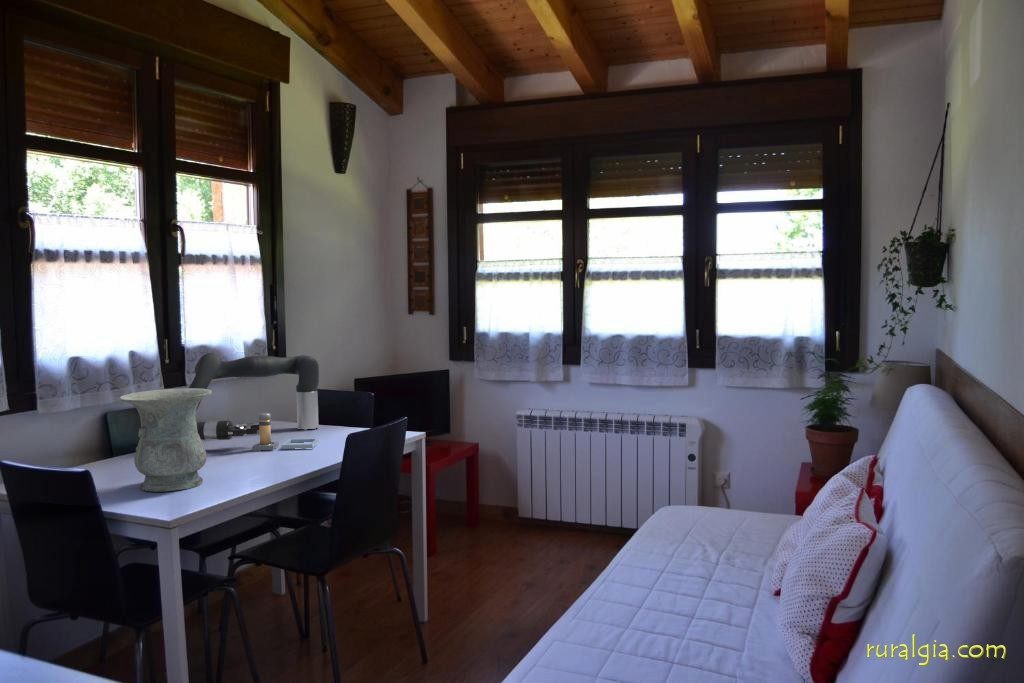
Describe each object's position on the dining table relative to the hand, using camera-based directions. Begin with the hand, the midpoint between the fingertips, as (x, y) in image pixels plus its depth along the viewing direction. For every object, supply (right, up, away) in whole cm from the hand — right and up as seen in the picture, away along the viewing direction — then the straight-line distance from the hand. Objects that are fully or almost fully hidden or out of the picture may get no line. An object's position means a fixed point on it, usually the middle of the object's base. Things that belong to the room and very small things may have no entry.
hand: (259, 429), depth 300 cm
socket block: (+2, -8, +1) cm, 8 cm away
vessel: (-10, -12, -55) cm, 57 cm away
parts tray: (+15, -7, +4) cm, 17 cm away
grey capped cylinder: (+2, -8, +1) cm, 8 cm away
